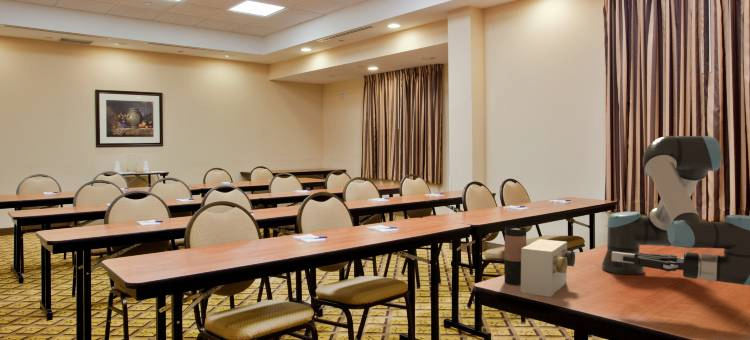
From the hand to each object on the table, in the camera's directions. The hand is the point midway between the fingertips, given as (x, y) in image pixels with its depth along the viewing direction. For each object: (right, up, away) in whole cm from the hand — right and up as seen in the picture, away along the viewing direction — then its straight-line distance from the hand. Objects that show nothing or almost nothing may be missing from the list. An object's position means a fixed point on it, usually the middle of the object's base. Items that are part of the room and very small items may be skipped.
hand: (612, 256), depth 169 cm
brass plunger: (-17, -7, +12) cm, 22 cm away
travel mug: (-25, -14, +24) cm, 37 cm away
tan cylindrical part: (-11, -6, +22) cm, 25 cm away
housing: (-16, -14, +18) cm, 28 cm away
